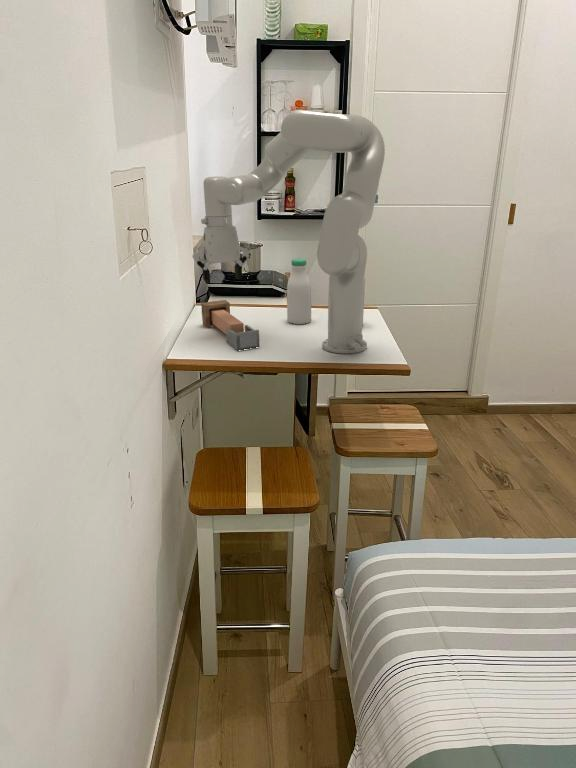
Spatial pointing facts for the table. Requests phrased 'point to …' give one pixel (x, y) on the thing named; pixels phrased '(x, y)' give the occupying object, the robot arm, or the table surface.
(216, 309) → the bar
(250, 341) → the channel
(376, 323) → the table surface
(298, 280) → the milk bottle
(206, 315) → the socket
